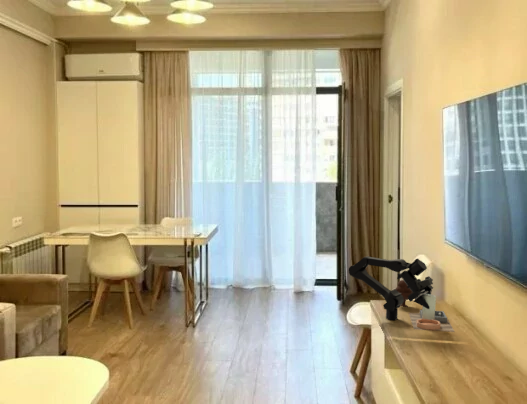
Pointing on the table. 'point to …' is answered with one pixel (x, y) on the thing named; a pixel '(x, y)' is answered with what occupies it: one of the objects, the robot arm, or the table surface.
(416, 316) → the walnut board
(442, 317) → the parts tray
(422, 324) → the terracotta dish
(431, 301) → the pale green tall cylinder
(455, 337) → the table surface
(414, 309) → the table surface
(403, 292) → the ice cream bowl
